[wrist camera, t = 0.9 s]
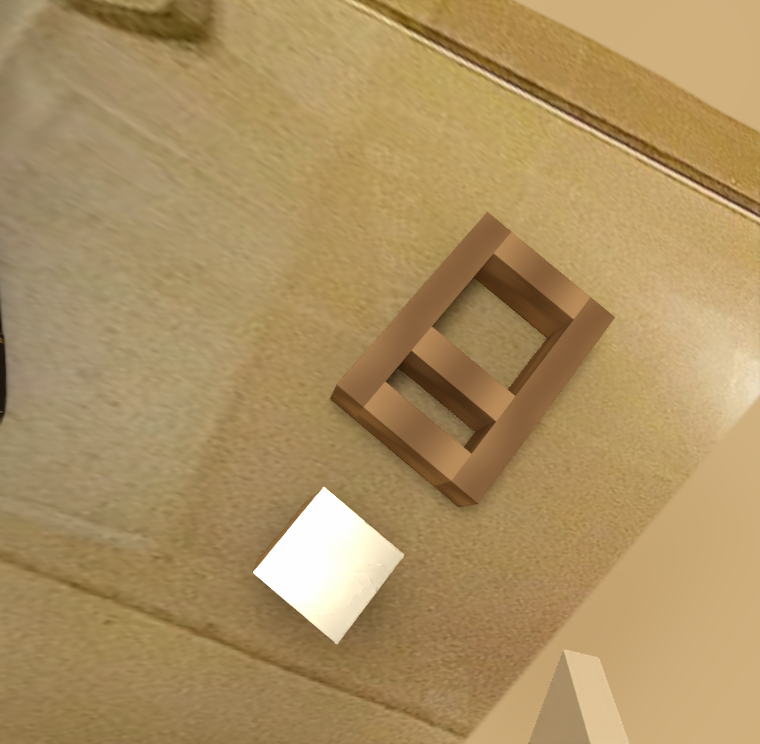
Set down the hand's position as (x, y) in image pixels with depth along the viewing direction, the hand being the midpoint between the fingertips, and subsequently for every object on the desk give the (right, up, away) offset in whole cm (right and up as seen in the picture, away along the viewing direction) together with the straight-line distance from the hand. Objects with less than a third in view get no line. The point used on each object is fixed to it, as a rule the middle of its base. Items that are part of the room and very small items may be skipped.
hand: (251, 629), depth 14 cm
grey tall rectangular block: (-1, -5, +25) cm, 26 cm away
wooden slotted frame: (+8, +6, +29) cm, 31 cm away
